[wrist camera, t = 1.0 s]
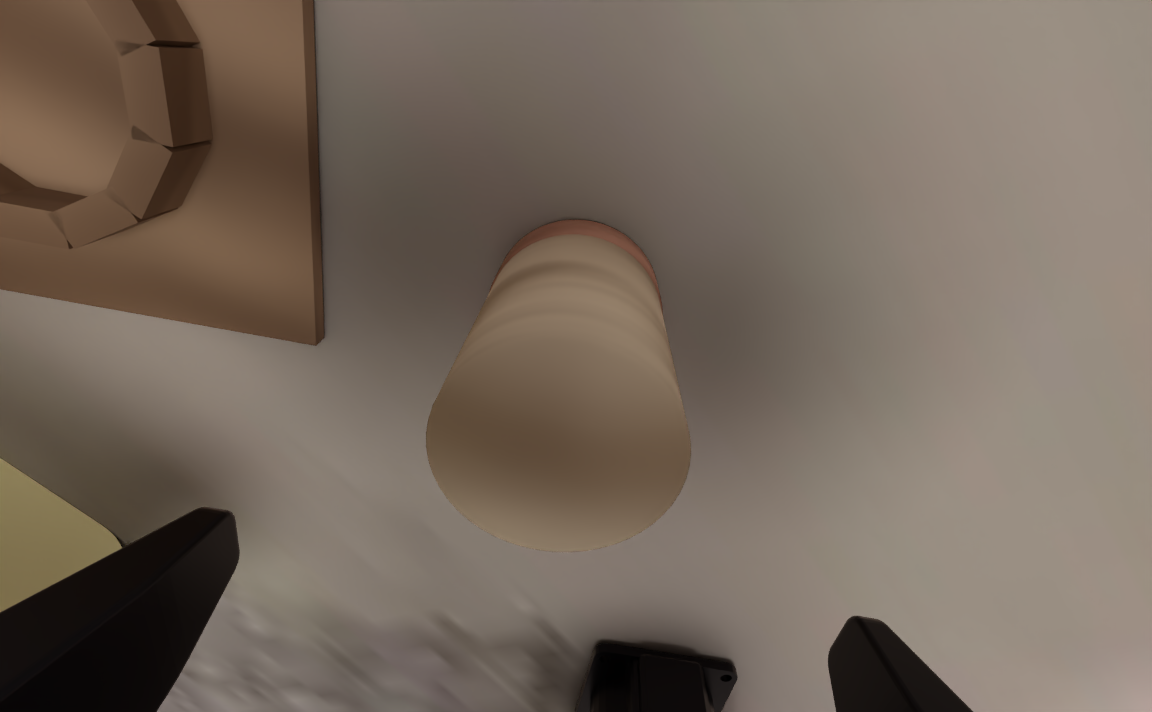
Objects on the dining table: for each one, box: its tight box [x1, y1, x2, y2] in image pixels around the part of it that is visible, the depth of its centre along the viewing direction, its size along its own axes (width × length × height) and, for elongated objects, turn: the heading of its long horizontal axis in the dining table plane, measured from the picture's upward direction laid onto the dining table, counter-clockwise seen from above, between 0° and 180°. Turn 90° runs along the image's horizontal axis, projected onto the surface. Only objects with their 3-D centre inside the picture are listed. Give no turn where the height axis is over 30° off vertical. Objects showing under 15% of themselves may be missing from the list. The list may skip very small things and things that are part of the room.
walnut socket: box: [0, 0, 324, 346], centre depth 14 cm, size 14×14×2 cm
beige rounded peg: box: [426, 220, 691, 552], centre depth 14 cm, size 5×5×8 cm
